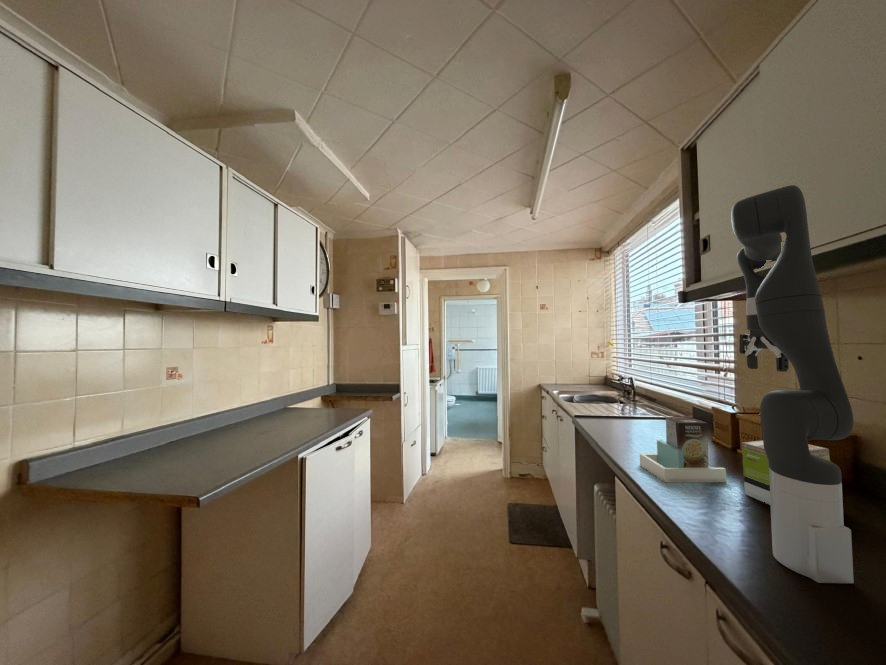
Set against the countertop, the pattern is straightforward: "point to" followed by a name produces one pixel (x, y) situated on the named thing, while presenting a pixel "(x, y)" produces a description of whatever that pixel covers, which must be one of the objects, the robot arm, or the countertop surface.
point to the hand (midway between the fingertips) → (766, 370)
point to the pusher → (669, 455)
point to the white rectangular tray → (681, 471)
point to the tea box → (764, 468)
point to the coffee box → (689, 440)
